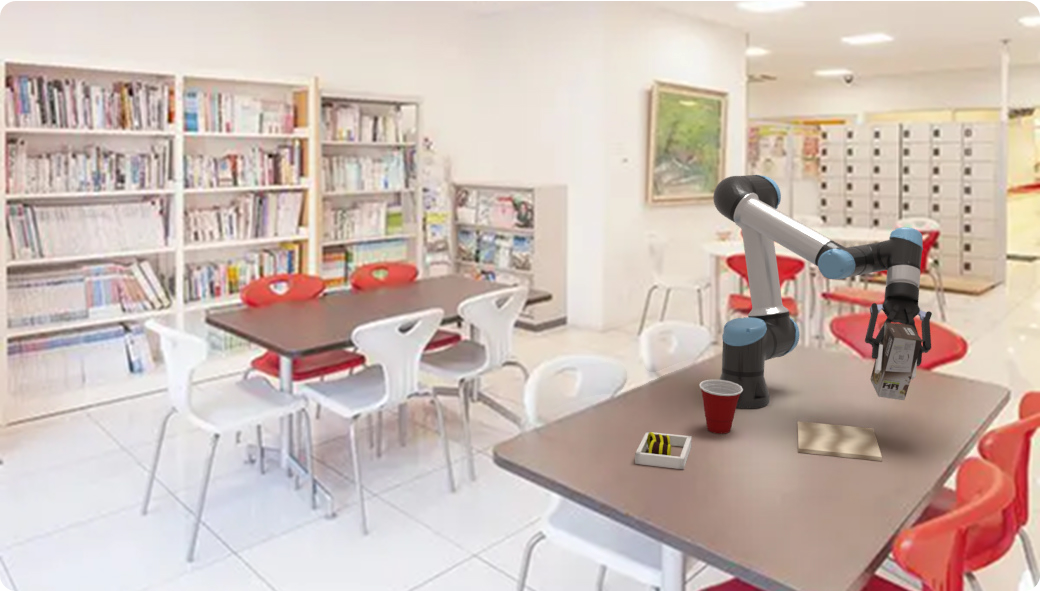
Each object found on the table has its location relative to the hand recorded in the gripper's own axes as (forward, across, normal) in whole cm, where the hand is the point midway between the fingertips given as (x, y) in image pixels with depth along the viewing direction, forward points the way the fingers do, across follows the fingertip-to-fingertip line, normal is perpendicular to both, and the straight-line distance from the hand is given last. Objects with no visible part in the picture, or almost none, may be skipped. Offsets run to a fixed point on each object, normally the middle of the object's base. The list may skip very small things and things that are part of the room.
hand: (895, 374), depth 183 cm
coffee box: (+2, 0, -7) cm, 7 cm away
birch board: (+16, +10, -10) cm, 21 cm away
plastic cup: (+19, +37, -13) cm, 44 cm away
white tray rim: (+31, +49, +4) cm, 58 cm away
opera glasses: (+32, +50, +5) cm, 60 cm away
